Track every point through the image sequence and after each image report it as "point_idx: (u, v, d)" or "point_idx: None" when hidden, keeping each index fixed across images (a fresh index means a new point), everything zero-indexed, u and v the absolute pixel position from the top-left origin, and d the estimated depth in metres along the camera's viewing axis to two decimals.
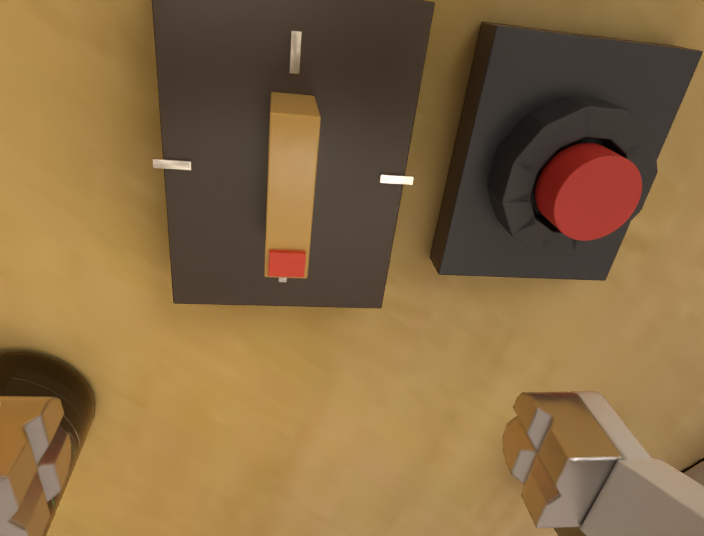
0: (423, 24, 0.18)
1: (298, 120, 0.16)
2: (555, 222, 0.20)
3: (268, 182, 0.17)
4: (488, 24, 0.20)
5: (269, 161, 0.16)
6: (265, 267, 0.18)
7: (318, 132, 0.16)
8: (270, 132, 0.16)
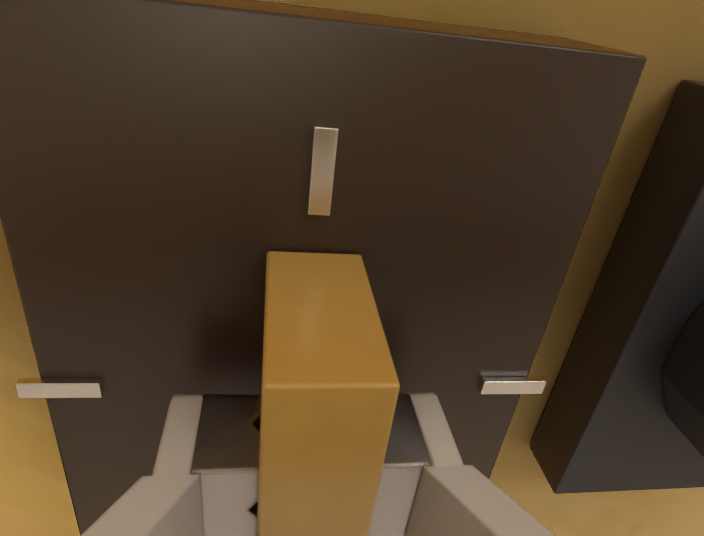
0: (613, 104, 0.08)
1: (340, 396, 0.06)
2: None
3: (260, 514, 0.07)
4: None
5: (262, 478, 0.06)
6: None
7: (391, 415, 0.06)
8: (264, 425, 0.06)
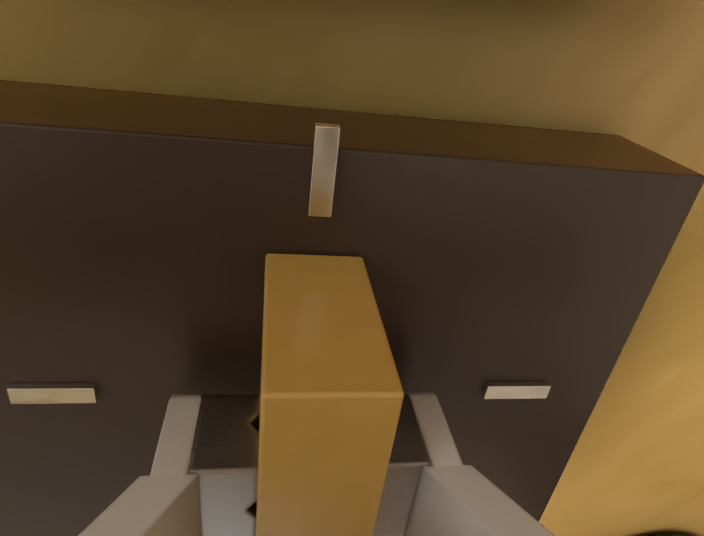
0: None
1: (342, 406, 0.06)
2: None
3: (258, 526, 0.06)
4: None
5: (260, 489, 0.06)
6: None
7: (395, 425, 0.06)
8: (262, 436, 0.06)
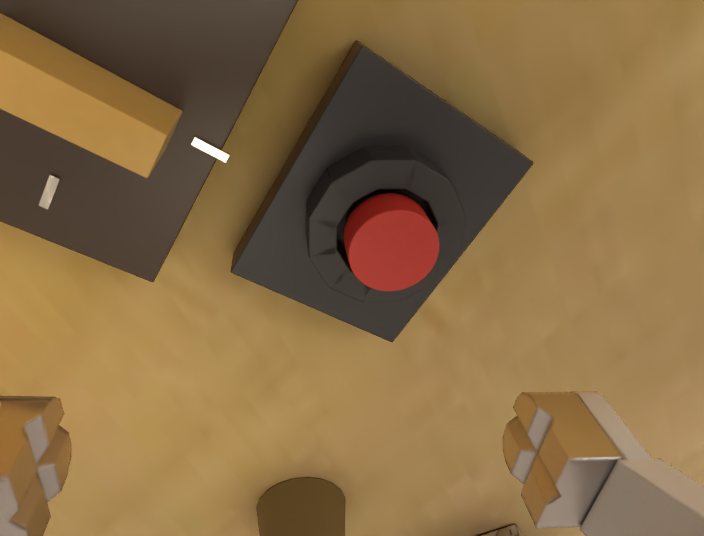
0: (286, 2, 0.17)
1: (150, 158, 0.16)
2: (348, 257, 0.19)
3: (88, 96, 0.14)
4: (358, 43, 0.19)
5: (114, 109, 0.15)
6: None
7: (131, 170, 0.16)
8: (146, 126, 0.15)
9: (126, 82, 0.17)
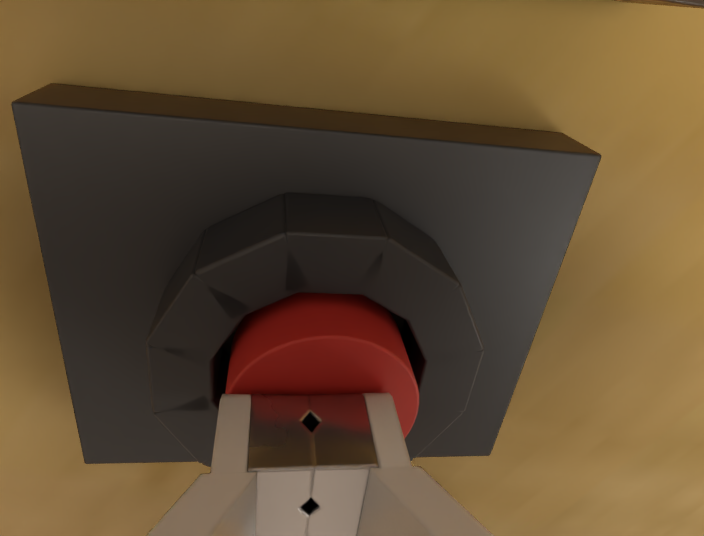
0: None
1: None
2: (267, 350, 0.08)
3: None
4: None
5: None
6: None
7: None
8: None
9: None
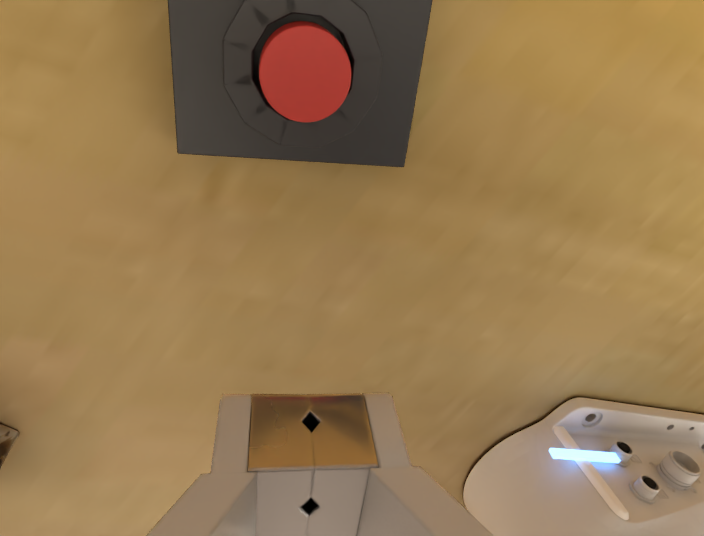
0: None
1: None
2: (279, 33, 0.19)
3: None
4: None
5: None
6: None
7: None
8: None
9: None
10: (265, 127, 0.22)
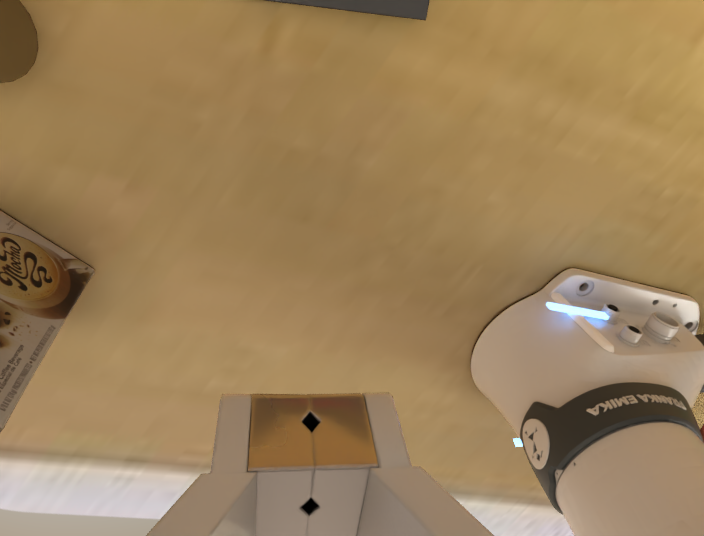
0: None
1: None
2: None
3: None
4: None
5: None
6: None
7: None
8: None
9: None
10: None
